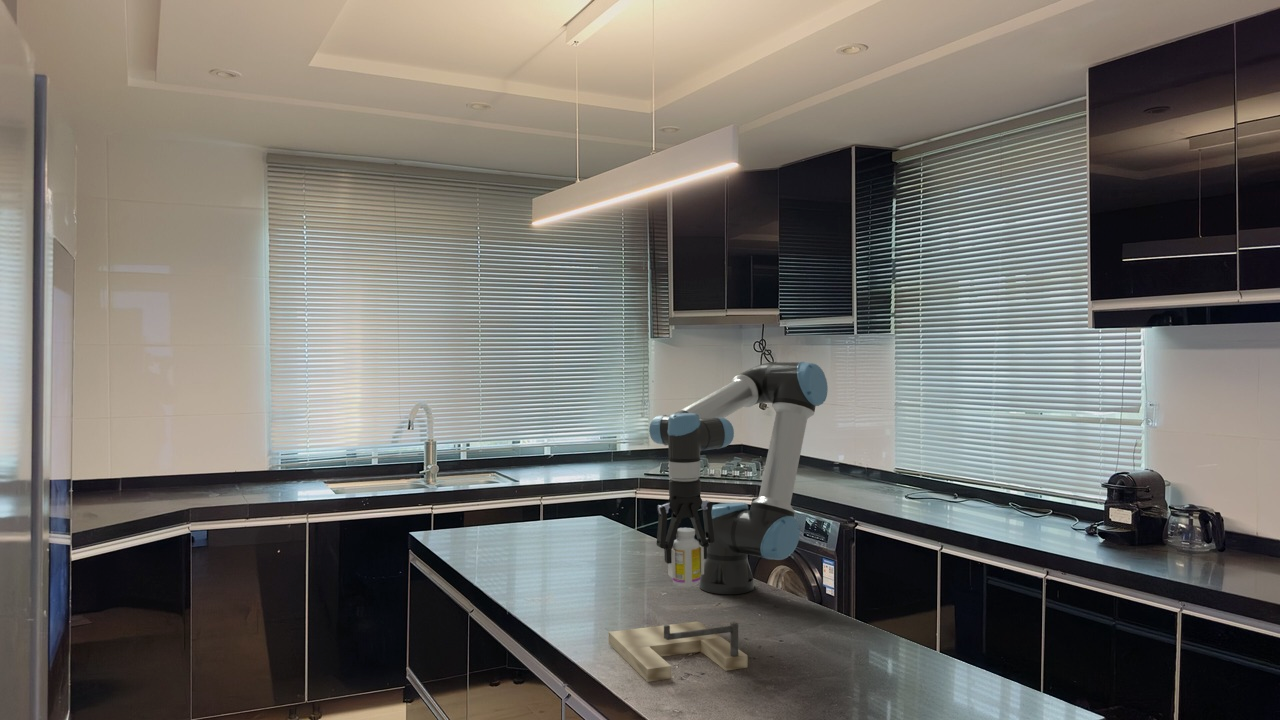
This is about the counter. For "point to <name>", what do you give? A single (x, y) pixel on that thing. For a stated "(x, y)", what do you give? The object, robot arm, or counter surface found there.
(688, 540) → the supplement bottle
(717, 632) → the wooden u-shaped stand
